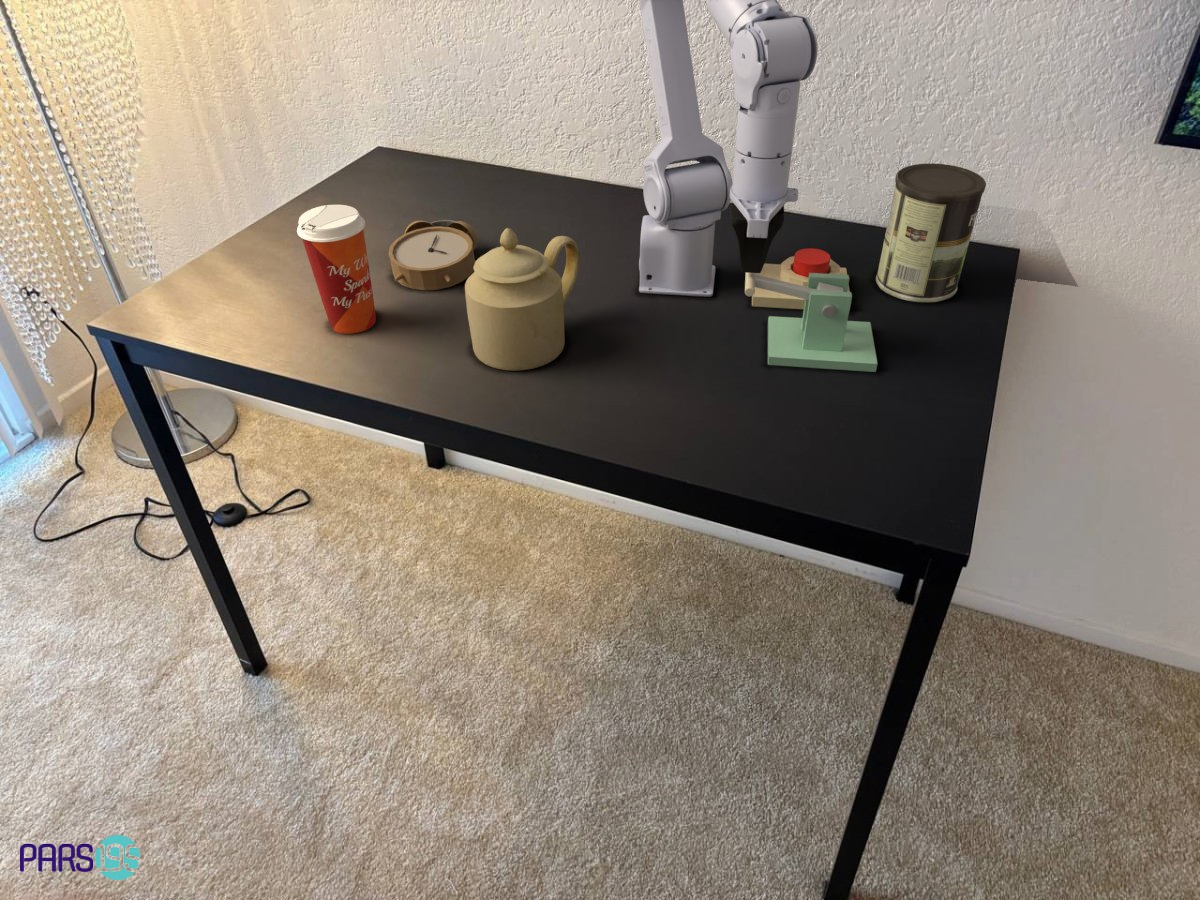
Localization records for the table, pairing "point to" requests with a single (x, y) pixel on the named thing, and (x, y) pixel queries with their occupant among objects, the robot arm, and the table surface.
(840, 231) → the table surface
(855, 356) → the bracket
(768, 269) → the button housing
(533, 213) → the table surface
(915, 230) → the coffee can
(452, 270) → the alarm clock
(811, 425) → the table surface
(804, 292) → the lever
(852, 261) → the table surface
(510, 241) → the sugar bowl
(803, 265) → the red button
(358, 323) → the paper cup
